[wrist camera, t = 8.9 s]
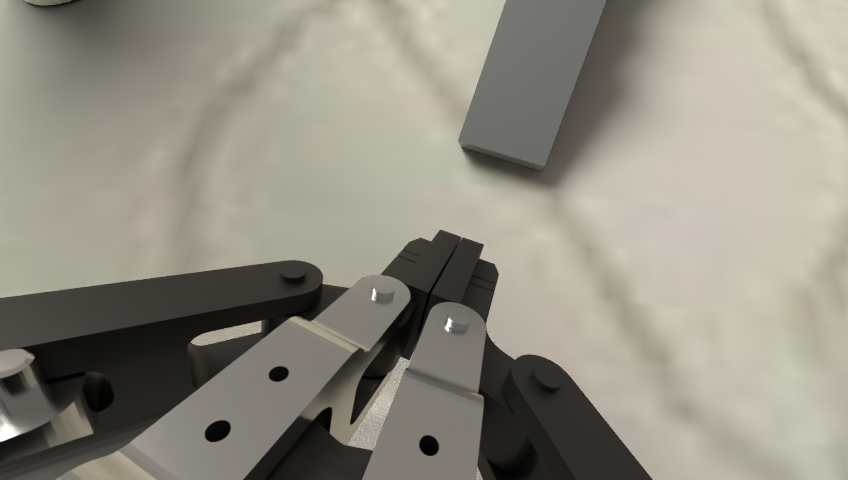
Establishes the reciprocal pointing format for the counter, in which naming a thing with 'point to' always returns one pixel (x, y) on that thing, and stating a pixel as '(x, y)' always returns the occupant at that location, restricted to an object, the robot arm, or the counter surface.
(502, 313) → the counter surface
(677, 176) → the counter surface
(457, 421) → the robot arm
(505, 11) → the domino
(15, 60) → the counter surface
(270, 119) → the counter surface
